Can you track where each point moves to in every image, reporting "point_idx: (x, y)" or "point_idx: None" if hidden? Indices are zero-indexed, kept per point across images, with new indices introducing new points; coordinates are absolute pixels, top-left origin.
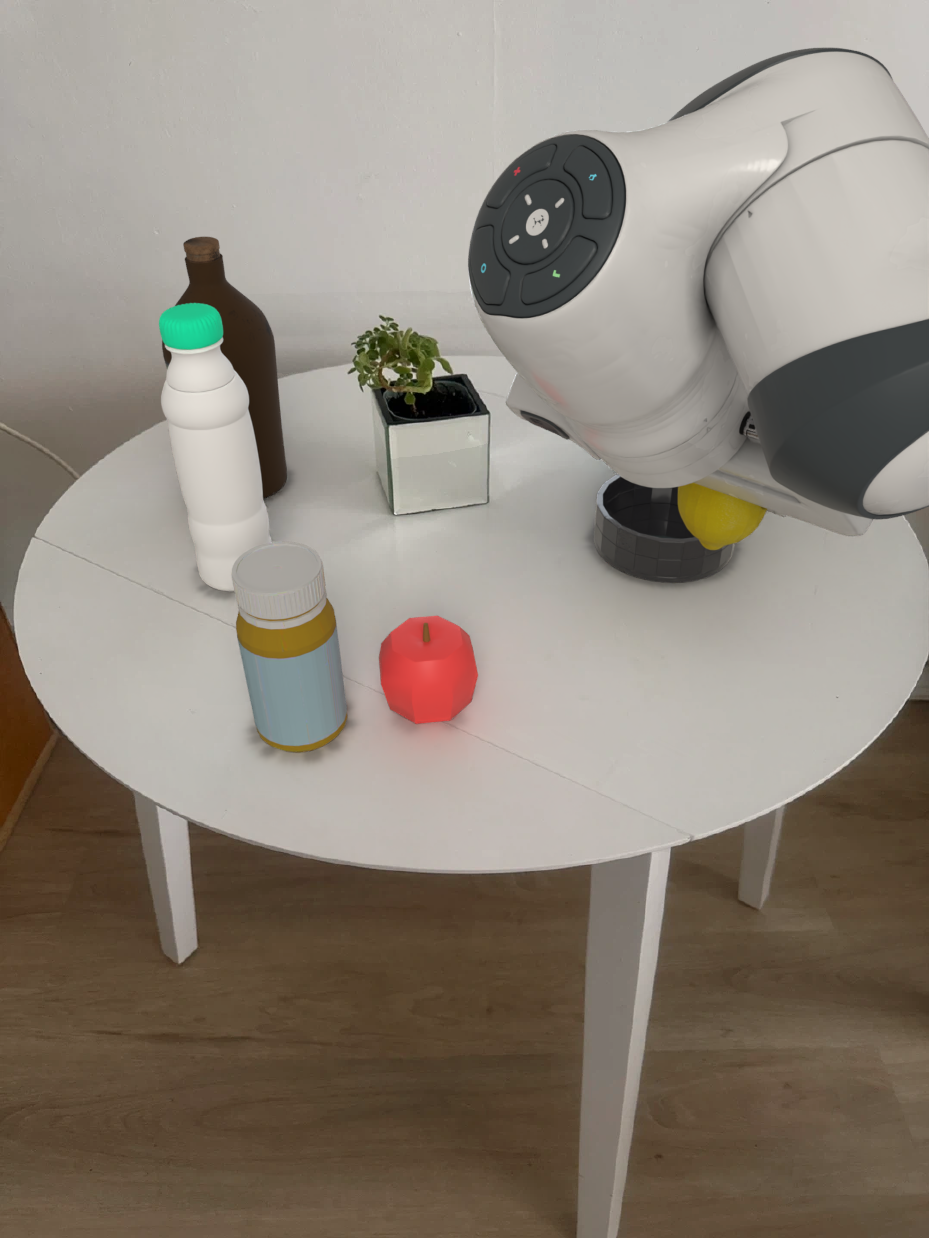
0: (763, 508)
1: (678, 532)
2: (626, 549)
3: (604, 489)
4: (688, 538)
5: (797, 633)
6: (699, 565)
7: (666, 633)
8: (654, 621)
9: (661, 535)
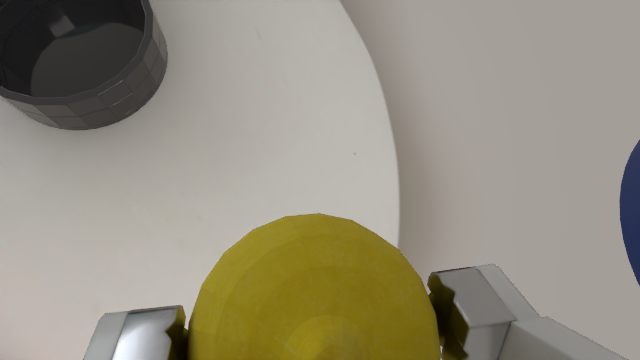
0: (441, 343)
1: (93, 37)
2: (64, 116)
3: None
4: (123, 70)
5: (281, 99)
6: (150, 81)
7: (180, 184)
8: (158, 176)
9: (79, 53)
